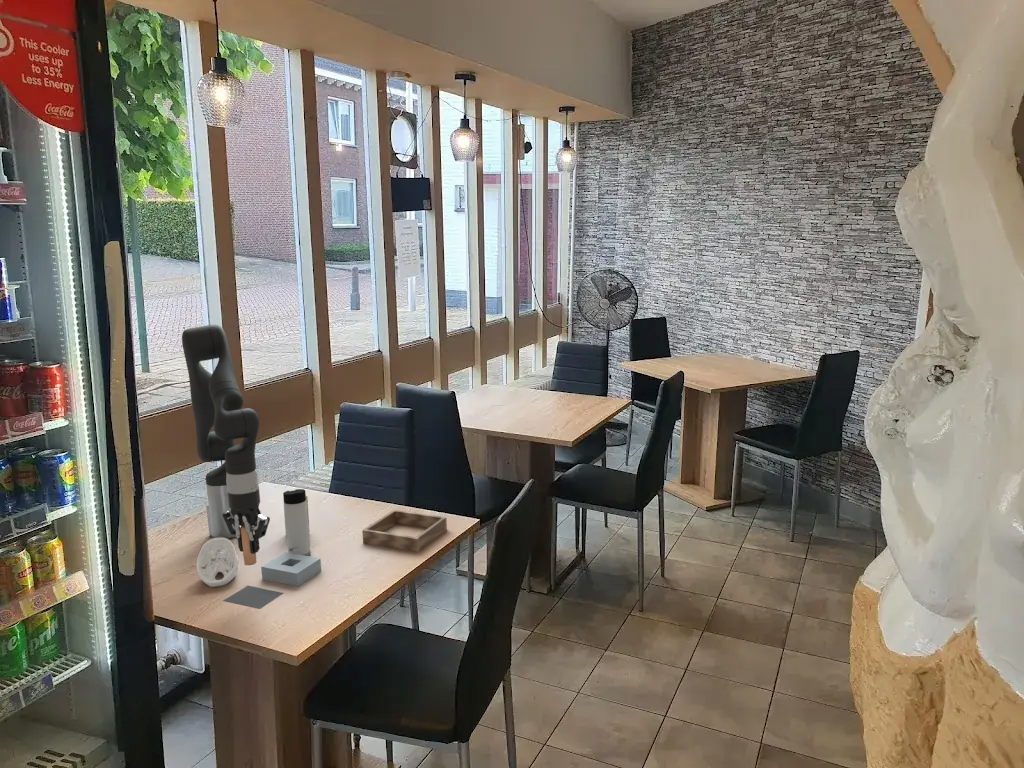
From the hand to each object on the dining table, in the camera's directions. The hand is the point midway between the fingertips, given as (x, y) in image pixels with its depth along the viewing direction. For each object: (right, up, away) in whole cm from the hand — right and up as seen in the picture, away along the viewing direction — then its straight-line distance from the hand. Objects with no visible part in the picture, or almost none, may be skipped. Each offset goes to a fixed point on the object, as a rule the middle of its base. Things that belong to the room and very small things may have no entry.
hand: (249, 551), depth 195 cm
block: (+7, -10, +15) cm, 19 cm away
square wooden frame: (+34, -4, +40) cm, 53 cm away
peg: (0, -3, +1) cm, 3 cm away
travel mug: (+5, -7, +28) cm, 30 cm away
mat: (0, -13, +2) cm, 13 cm away
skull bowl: (-13, -11, +14) cm, 22 cm away
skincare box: (0, -4, +44) cm, 44 cm away
